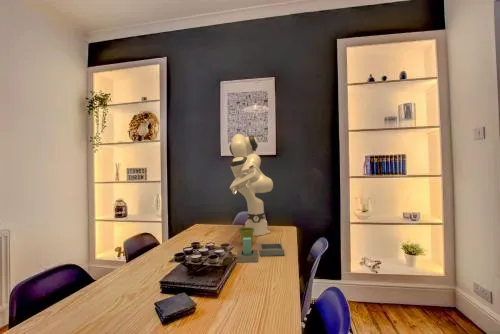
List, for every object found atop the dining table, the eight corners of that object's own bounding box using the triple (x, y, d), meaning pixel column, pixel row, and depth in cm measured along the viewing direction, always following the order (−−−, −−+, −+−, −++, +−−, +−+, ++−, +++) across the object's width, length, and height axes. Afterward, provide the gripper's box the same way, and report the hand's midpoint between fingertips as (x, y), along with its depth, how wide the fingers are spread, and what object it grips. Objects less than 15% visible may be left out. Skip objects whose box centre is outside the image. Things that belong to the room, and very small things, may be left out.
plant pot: (248, 246, 147) (247, 231, 147) (235, 244, 153) (235, 229, 153) (257, 243, 154) (257, 228, 154) (245, 240, 160) (245, 226, 160)
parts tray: (260, 249, 141) (259, 243, 141) (281, 248, 141) (281, 243, 141) (260, 256, 129) (260, 250, 129) (284, 255, 129) (284, 249, 129)
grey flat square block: (238, 255, 131) (237, 249, 132) (257, 255, 131) (257, 249, 131) (236, 262, 121) (236, 256, 122) (257, 262, 121) (257, 255, 121)
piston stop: (243, 257, 128) (243, 237, 129) (251, 257, 128) (251, 237, 129) (243, 260, 124) (242, 239, 125) (251, 260, 124) (251, 239, 125)
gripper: (232, 176, 152) (223, 192, 142) (257, 163, 140) (249, 180, 130) (239, 183, 154) (231, 200, 144) (264, 171, 142) (257, 188, 132)
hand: (240, 190), depth 137 cm, fingers open, 8 cm apart
